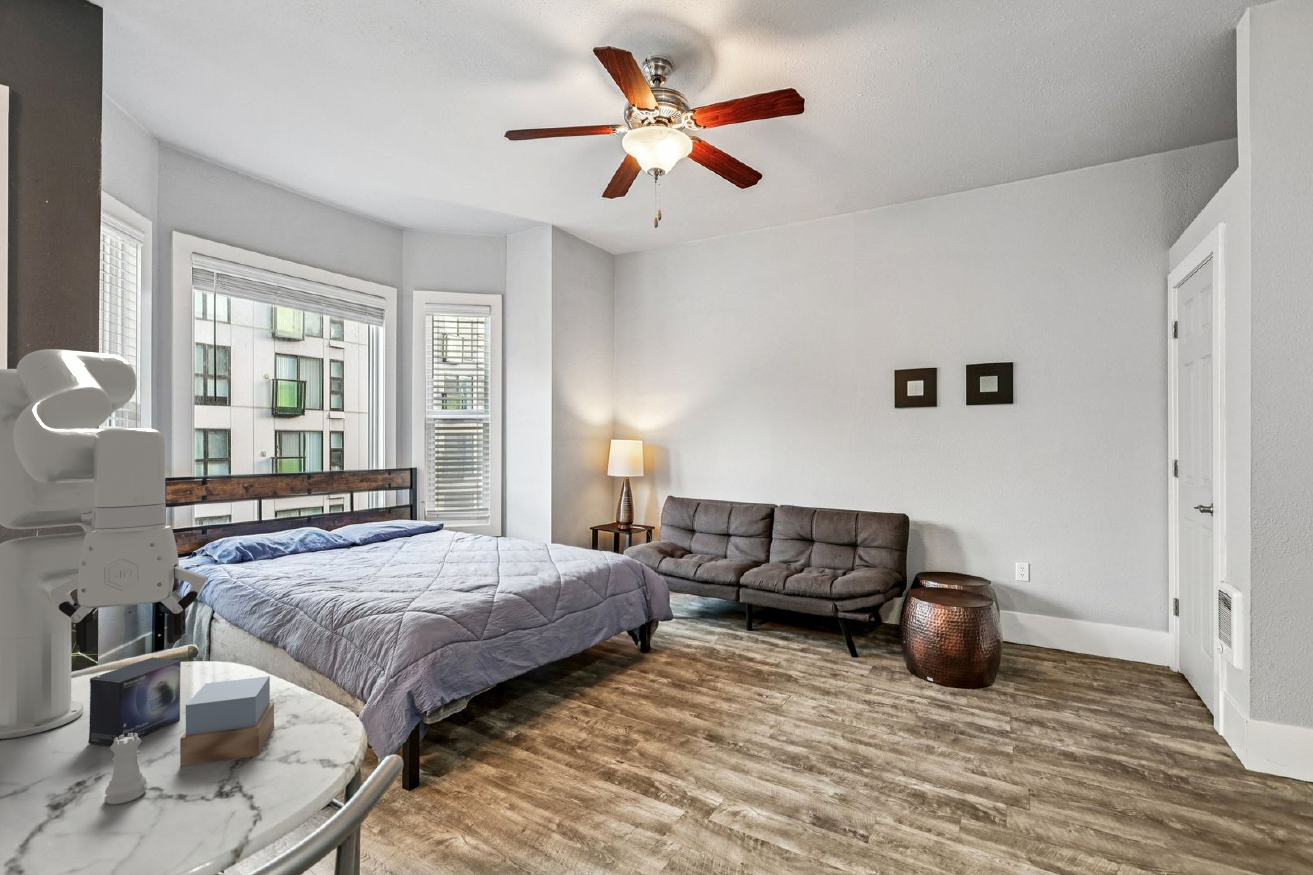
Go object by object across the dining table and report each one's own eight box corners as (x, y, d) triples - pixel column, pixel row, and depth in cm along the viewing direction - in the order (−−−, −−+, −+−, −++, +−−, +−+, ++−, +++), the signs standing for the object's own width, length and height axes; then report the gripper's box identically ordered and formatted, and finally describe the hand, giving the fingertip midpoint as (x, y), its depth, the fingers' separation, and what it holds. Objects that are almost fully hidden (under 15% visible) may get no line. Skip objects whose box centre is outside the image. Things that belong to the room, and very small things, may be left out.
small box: (119, 748, 99) (119, 681, 99) (86, 745, 100) (86, 678, 100) (183, 719, 109) (182, 658, 109) (152, 716, 111) (151, 656, 111)
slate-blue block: (185, 735, 94) (185, 705, 94) (205, 711, 103) (205, 683, 103) (255, 725, 97) (255, 696, 97) (269, 703, 106) (269, 676, 106)
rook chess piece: (142, 783, 89) (142, 726, 89) (151, 795, 86) (151, 735, 86) (100, 798, 85) (100, 738, 85) (108, 810, 82) (108, 748, 82)
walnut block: (180, 768, 93) (180, 738, 93) (203, 738, 103) (203, 711, 103) (258, 757, 97) (258, 727, 97) (274, 729, 106) (274, 702, 106)
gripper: (34, 525, 80) (35, 662, 80) (195, 517, 86) (197, 645, 86) (67, 520, 87) (68, 645, 87) (214, 512, 93) (216, 630, 93)
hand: (132, 645), depth 86 cm, fingers open, 9 cm apart
